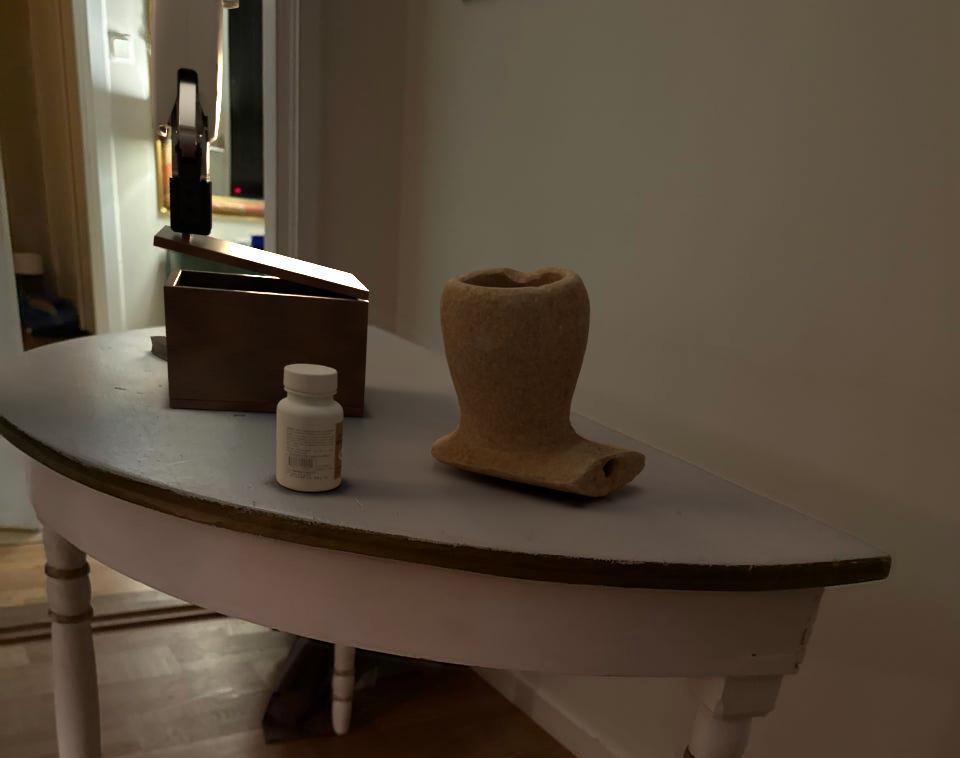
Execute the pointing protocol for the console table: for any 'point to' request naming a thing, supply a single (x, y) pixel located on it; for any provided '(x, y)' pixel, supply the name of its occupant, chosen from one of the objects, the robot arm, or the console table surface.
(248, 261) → the lid
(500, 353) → the stone cup
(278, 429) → the pill bottle
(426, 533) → the console table surface
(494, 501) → the console table surface
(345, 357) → the chest
